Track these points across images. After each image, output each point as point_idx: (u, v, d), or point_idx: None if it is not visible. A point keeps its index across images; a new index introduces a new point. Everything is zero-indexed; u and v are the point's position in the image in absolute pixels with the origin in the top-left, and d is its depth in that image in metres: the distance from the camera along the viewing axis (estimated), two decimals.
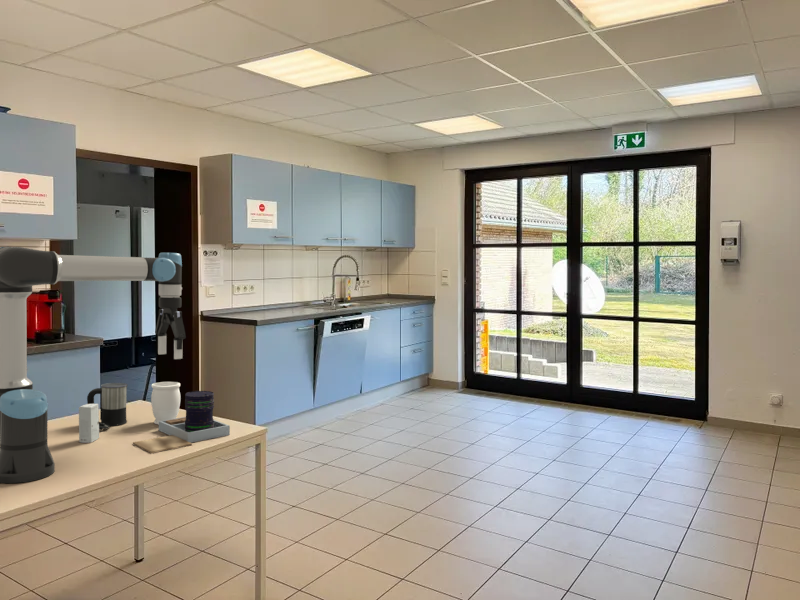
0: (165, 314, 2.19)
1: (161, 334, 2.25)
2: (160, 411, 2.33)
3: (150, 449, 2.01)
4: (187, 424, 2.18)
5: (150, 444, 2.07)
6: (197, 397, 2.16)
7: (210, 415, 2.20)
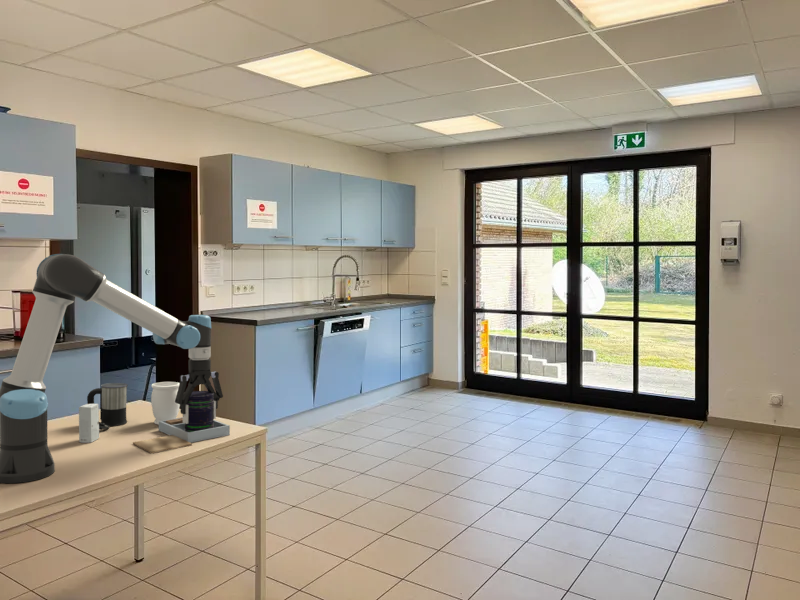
0: None
1: None
2: (160, 411, 2.33)
3: (150, 449, 2.01)
4: (187, 424, 2.18)
5: (150, 444, 2.07)
6: (197, 397, 2.16)
7: (210, 415, 2.20)
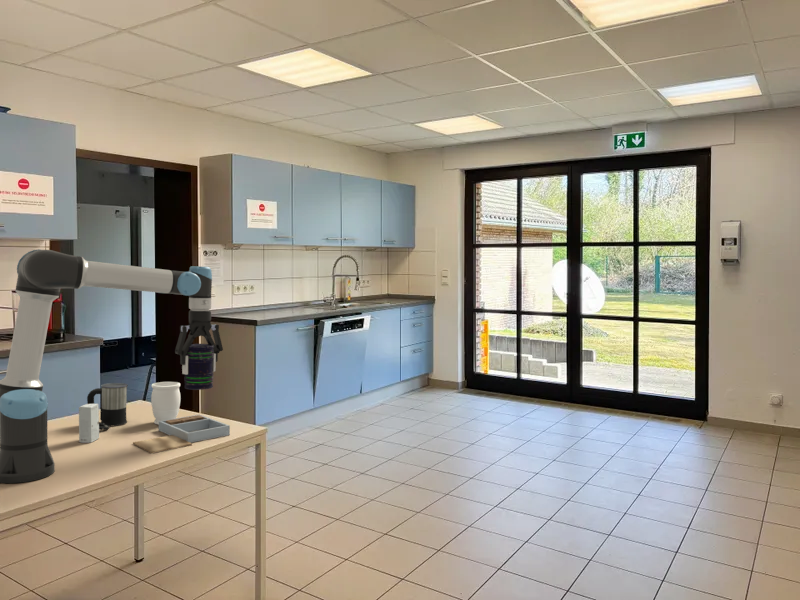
0: None
1: None
2: (160, 411, 2.33)
3: (150, 449, 2.01)
4: (187, 375, 2.17)
5: (150, 444, 2.07)
6: (197, 348, 2.15)
7: (210, 367, 2.19)
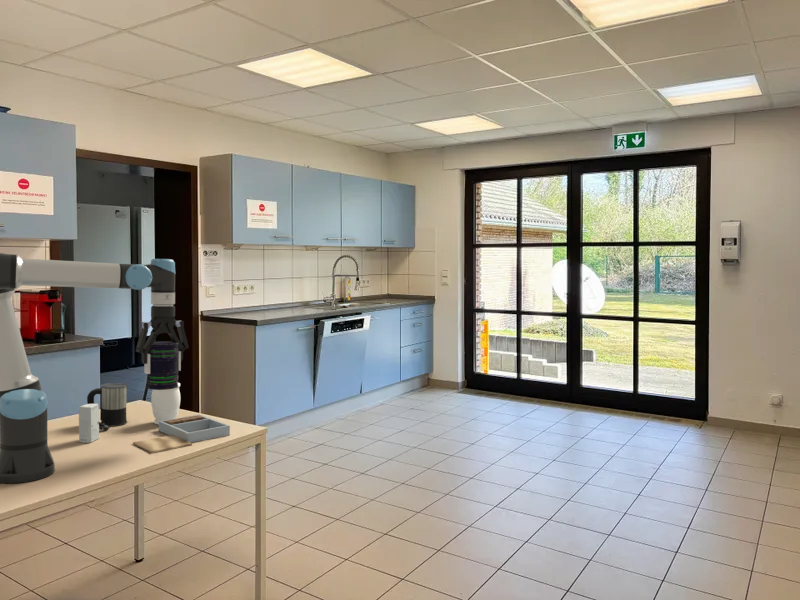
0: None
1: (178, 349, 2.11)
2: (160, 411, 2.33)
3: (150, 449, 2.01)
4: (149, 375, 2.04)
5: (150, 444, 2.07)
6: (159, 345, 2.02)
7: (174, 365, 2.06)
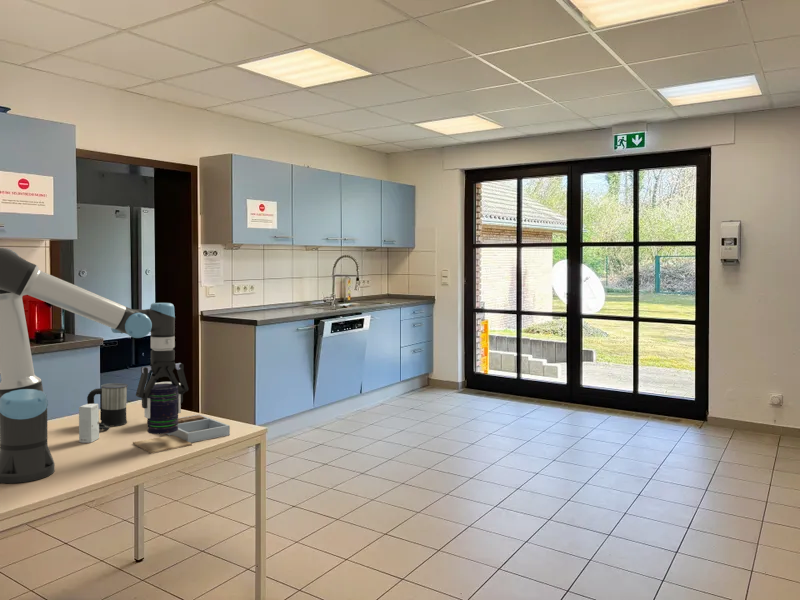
0: None
1: (178, 391, 2.12)
2: None
3: (150, 449, 2.01)
4: (149, 419, 2.05)
5: (150, 444, 2.07)
6: (159, 390, 2.03)
7: (174, 409, 2.07)
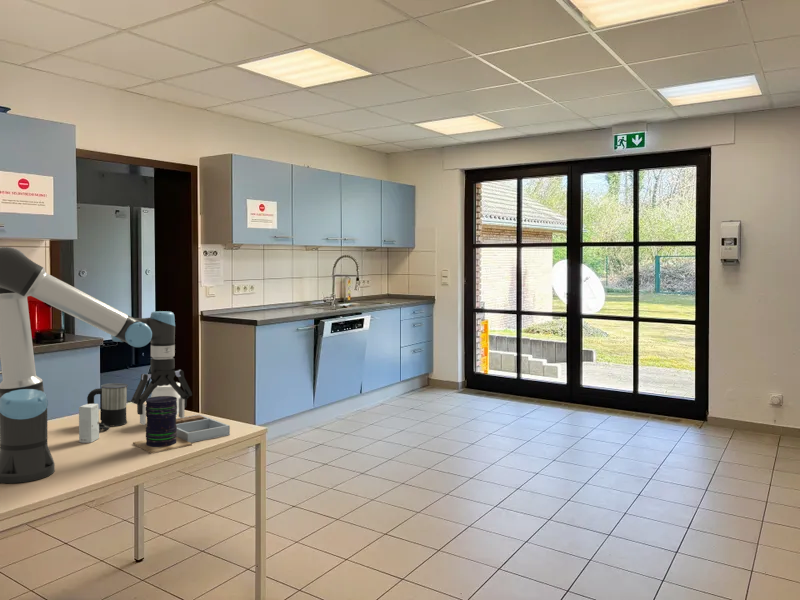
0: None
1: (182, 396, 2.13)
2: None
3: (150, 449, 2.01)
4: (148, 432, 2.05)
5: None
6: (158, 403, 2.03)
7: (172, 422, 2.07)
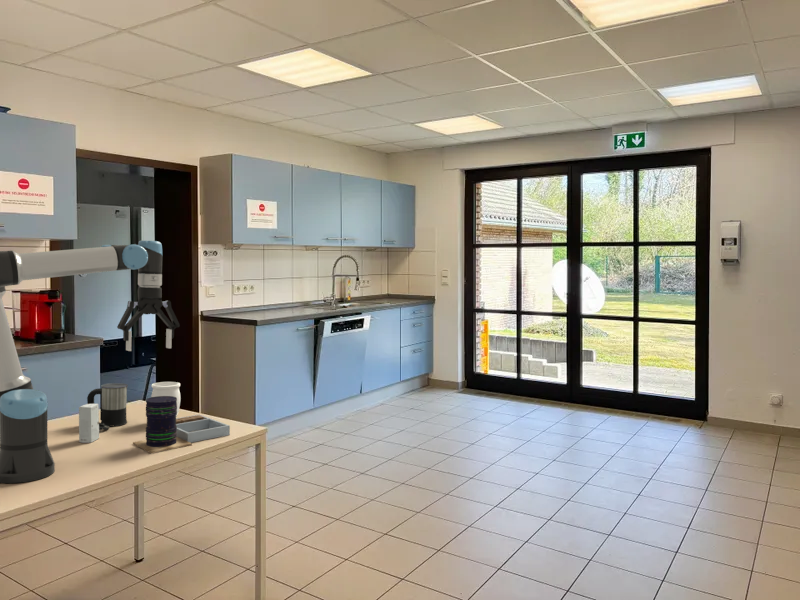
0: None
1: (169, 327, 2.15)
2: None
3: (150, 449, 2.01)
4: (148, 432, 2.05)
5: None
6: (158, 403, 2.03)
7: (172, 422, 2.07)
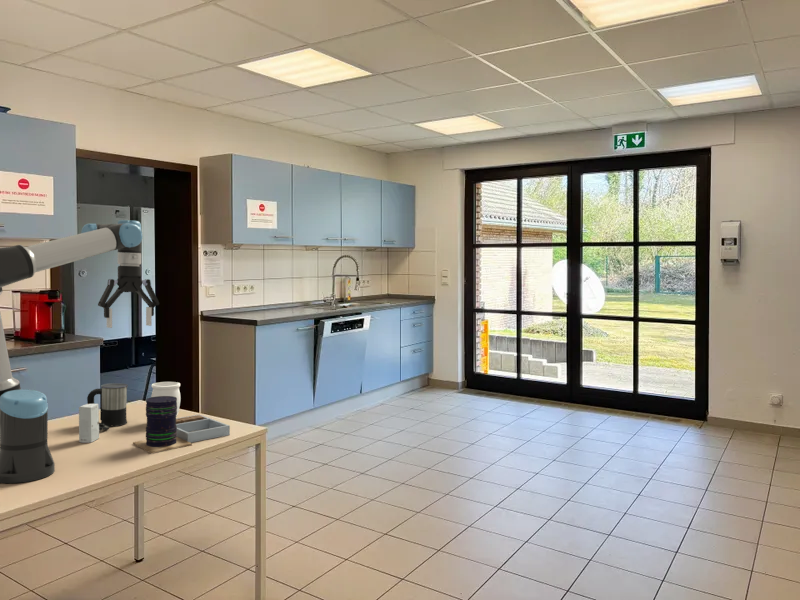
0: None
1: (149, 305, 2.21)
2: None
3: (150, 449, 2.01)
4: (148, 432, 2.05)
5: None
6: (158, 403, 2.03)
7: (172, 422, 2.07)
